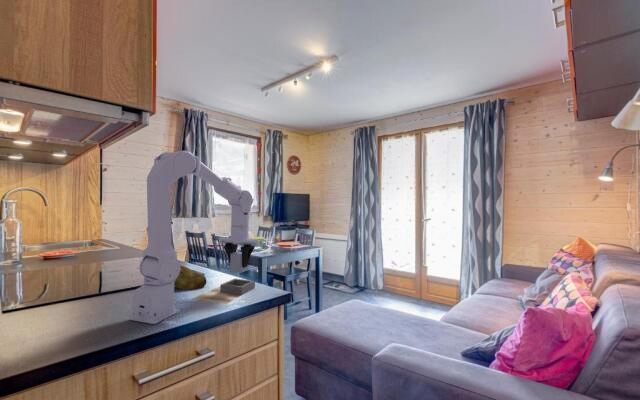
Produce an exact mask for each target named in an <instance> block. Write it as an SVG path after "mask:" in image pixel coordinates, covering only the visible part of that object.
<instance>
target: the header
mask: <svg viewBox="0 0 640 400" xmlns="http://www.w3.org/2000/svg"><path fill="white" fill-rule="evenodd" d="M219 287H220V292H222V293H229V294H237V295H242V296H243V295H245V294H247V293H249V292H250V291H252V289H253V290H255V289H256V281H255V280H251V279H241V278H233V279H230V280H228V281H226V282H224V283H221V284H220V286H219ZM254 288H255V289H254Z"/></svg>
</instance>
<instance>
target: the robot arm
mask: <svg viewBox="0 0 640 400" xmlns="http://www.w3.org/2000/svg"><path fill="white" fill-rule="evenodd" d="M153 160H154V161H153V162H154V163H153V165H152V168H151V169H150V171H149V172H148V175H147V177H146V203H147V204H146V205H147V207H146V208H147V209H146V210H147V239H148V240H147V243H148V245H147V247H145V248H144V250H143V251H142V258H141V261H140V263H139V266H138V267H139V273H140V274H141V275H142V276H143V284H142V285H141V286H140V287H137V288H136V289H135V291H134V292H133V294H132V309H131V310H132V314H131V317H129V320H130V321H133V322H140V323H146V324H150V325H151V324H152V325H155V324H158V323H160V322H162V321H164V320H165V319H167V318H168V317H170V316H172V315H175V314H177V313H179V312H181V309H178V308H177V309H176V308H174V307H175V305H174V303H175V302H174V301H175V286H174V282H175V279H176V278H177V277H178V275H179V273H180V265H181V264H180V262H179V260H178V254H177V251H176V250H175V248H174V246H173V245H172V221H171V220H172V217H171V215H172V213H171V210H172V209H171V206H172V205H171V187H172V185H173V184H174V183H175V182H176V181H178V180H179V179H181V178H183V177H185V176H188V175H194V176H196V177H197V178H199V179H201V180H202V181H204V182H205V183H207V184H209V185H210V186H212V187H213V190H214V192H215V193H216V194H217V195H218V196H221V198H223V199H224V200H226V201H227V202H228V205H229V206H230V207H231V212H230V214H231V216H230V218H231V221H230V237H224V236H222V237H219V239H218V244H219V245H221V244H222V245H223V244H225V245H223V249H224V252H225V253H226V255H227V259H228V262H229V263H230V257H231V253H235V252H238V246H240V252H242V268H245V267H247V268H248V264H249V261H250V258H251V255H252V253H253V251H254V250H255V247H256V248H257V247H260V246H261V240H260V239H253V238H249V224H250V223H249V221H250V212H251V207H252V205H253V203H254V198H253V195H252V193H251V192H250V191H249V190H246V189H245V190H243V189H242V186H240V185H238V184H236V183H234V182H233V181H232V178H231V177H226V176H224V177H220V176H219V174H217V173H215V172H214V171H213V170H212V169H210V167H208V166H207V165H206V164H204V163H203V162H202V161H201V159H200V158H199V156H198V155H194V154H193V153H192V152H191V151H189V150H180V151H172V152H171V151H167V152H166V151H165V152H162V153H160V154H159V155H158V156H156V157H155V158H154V159H153Z"/></svg>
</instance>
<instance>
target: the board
mask: <svg viewBox="0 0 640 400" xmlns="http://www.w3.org/2000/svg"><path fill="white" fill-rule="evenodd" d="M255 289H256V287H255V288H254V289H252V290H255ZM252 290H251V291H252ZM241 296H243V295H237V294H229V293H222V292H220V286H218V287H216V288H213V289H211V290H209V291H206V292H203V293H202V294H199V295H197V296H195V297H193V298H191V299H192V300H197V301H206V302H210V303H211V302H212V303H218V304H225V305H226V304H228V303H230V302H232V301H234V300H235V299H238V298H240V297H241Z"/></svg>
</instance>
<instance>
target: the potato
mask: <svg viewBox="0 0 640 400" xmlns="http://www.w3.org/2000/svg"><path fill="white" fill-rule="evenodd" d="M207 281H208V280H207V278H206V276H205V274H204V275H203V274H202V273H200V272H198V271H195V270H193V269H190V268H188V267H186V266H185V265H181V264H180V273H179V275H178V277H177V278H176V279H175V282H174V288H175V287H176V288H178V289H179V290H183V291H185V290H187V291H188V290H197V289H202V288H204V287H205V286H206V284H207V283H208V282H207Z"/></svg>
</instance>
